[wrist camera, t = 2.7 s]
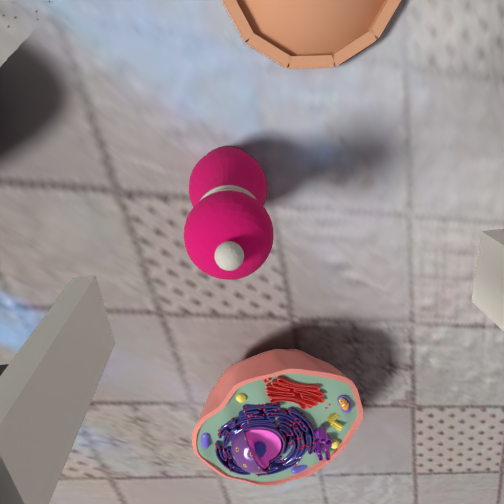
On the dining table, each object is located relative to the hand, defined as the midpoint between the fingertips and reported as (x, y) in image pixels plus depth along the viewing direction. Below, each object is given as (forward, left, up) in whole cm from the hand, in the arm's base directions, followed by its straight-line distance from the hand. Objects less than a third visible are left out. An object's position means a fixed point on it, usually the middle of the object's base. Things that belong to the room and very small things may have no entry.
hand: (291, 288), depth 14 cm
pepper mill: (-2, -3, -29) cm, 30 cm away
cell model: (+2, -30, -29) cm, 42 cm away
